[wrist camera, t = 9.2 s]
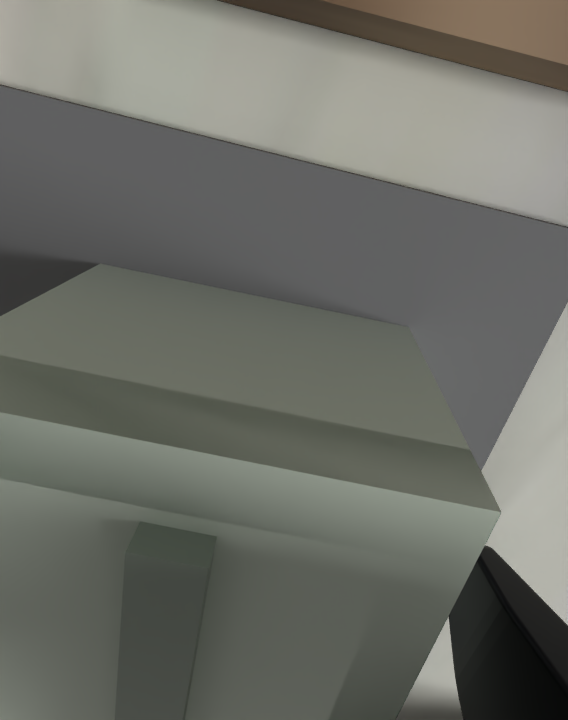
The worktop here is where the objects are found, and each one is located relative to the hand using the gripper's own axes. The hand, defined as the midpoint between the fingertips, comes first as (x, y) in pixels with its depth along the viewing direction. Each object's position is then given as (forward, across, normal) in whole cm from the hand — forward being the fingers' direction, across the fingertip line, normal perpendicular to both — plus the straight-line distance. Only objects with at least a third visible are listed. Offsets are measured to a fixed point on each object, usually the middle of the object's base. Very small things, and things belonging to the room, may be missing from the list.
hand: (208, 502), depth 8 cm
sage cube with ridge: (+2, 0, 0) cm, 2 cm away
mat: (+3, 0, 0) cm, 3 cm away
